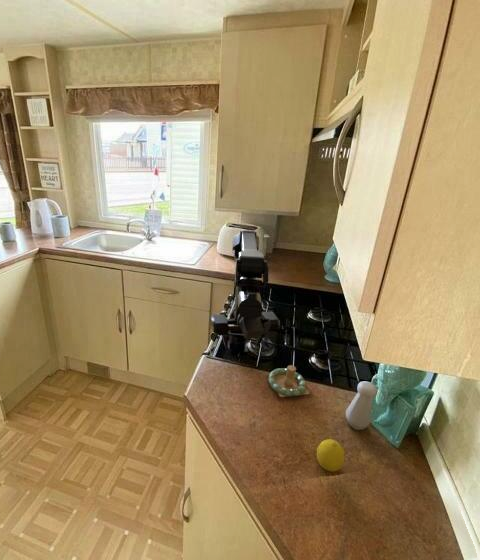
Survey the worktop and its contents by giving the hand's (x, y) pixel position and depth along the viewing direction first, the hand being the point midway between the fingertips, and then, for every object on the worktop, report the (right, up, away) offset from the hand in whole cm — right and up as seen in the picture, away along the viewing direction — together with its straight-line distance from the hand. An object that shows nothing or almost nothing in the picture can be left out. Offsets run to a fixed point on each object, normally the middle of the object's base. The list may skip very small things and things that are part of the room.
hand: (241, 346), depth 91 cm
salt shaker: (+28, -18, -9) cm, 35 cm away
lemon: (+16, -23, -20) cm, 35 cm away
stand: (+14, -12, +3) cm, 19 cm away
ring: (+14, -11, +2) cm, 17 cm away
